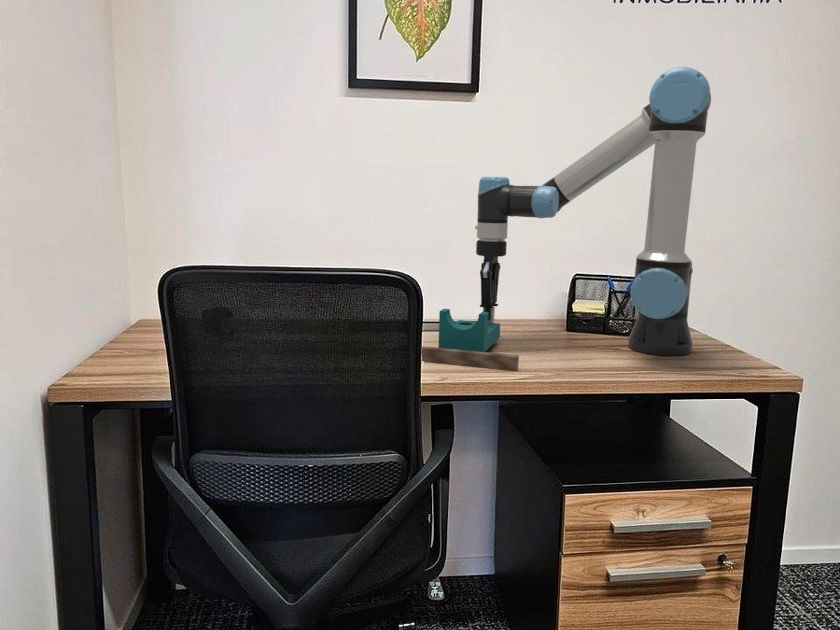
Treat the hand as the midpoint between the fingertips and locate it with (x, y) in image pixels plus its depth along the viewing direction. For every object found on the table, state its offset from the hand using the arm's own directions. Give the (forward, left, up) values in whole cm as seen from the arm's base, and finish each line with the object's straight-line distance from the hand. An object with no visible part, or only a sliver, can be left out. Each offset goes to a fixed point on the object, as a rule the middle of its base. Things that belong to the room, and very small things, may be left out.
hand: (487, 331), depth 177 cm
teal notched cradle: (+2, +10, -3) cm, 10 cm away
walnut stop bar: (-1, +25, -2) cm, 25 cm away
